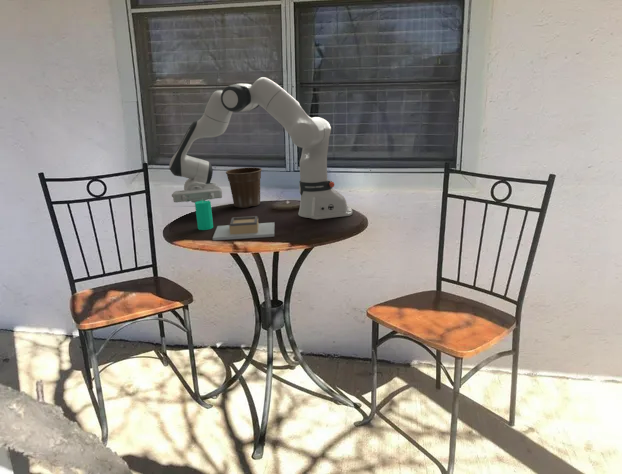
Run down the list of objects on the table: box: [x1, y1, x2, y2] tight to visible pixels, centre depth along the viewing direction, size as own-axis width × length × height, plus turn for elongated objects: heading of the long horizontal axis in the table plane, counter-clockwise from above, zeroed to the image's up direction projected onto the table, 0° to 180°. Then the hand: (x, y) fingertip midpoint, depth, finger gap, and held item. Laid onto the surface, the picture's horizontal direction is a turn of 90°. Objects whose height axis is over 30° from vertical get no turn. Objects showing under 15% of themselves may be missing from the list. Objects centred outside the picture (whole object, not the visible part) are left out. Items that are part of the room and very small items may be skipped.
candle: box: [194, 198, 214, 231], centre depth 196 cm, size 6×6×12 cm
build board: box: [212, 215, 276, 241], centre depth 188 cm, size 22×16×5 cm
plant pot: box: [225, 167, 263, 209], centre depth 231 cm, size 16×16×16 cm
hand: (199, 198), depth 206 cm, fingers open, 8 cm apart
